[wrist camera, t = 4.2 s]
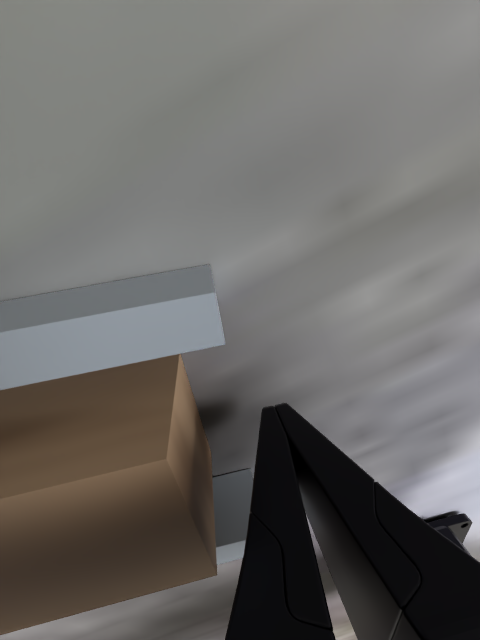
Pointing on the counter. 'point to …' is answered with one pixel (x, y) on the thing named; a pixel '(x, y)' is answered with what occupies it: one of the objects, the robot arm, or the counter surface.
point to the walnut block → (102, 491)
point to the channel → (125, 352)
